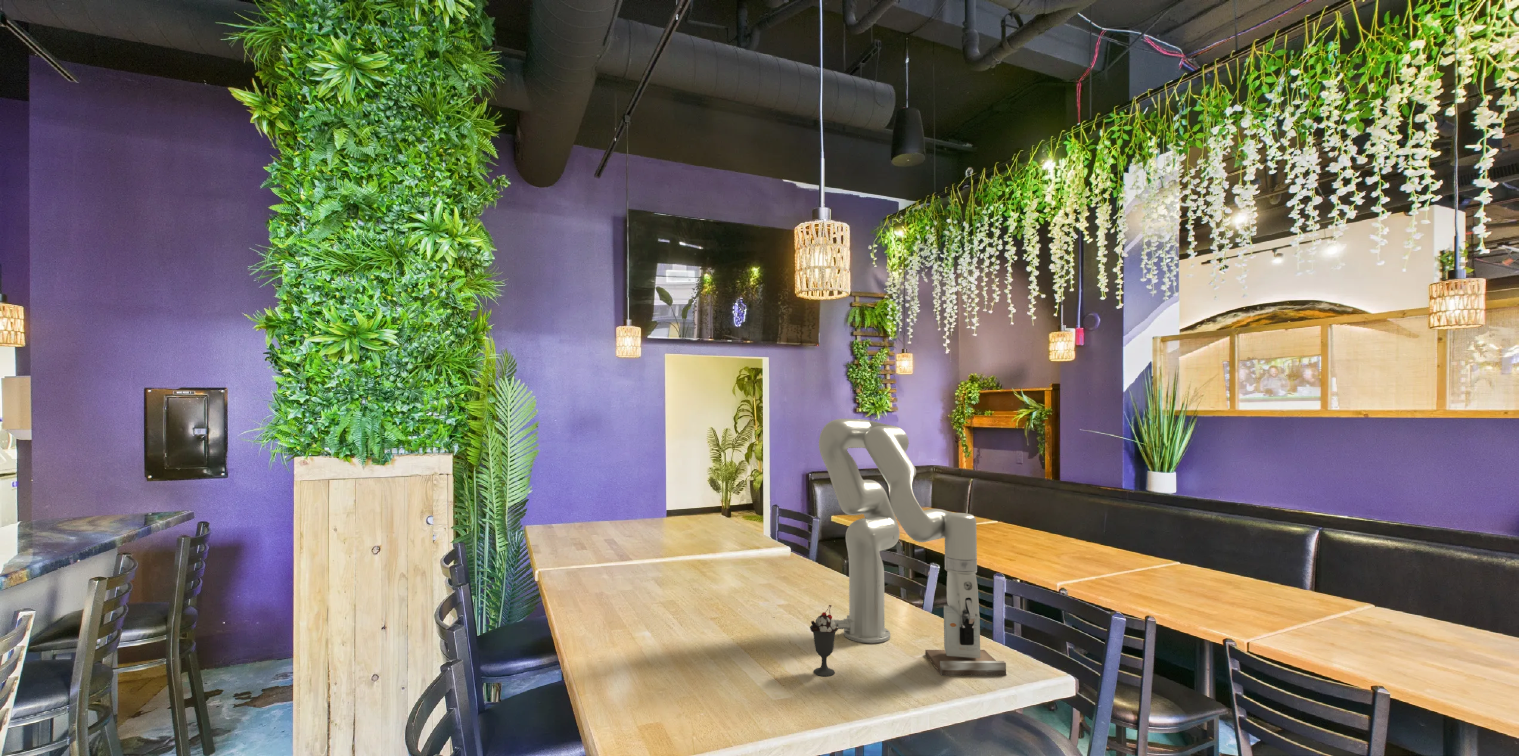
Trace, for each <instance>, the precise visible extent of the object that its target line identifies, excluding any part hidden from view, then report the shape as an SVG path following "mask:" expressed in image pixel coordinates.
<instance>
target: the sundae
mask: <svg viewBox="0 0 1519 756" xmlns="http://www.w3.org/2000/svg"><path fill="white" fill-rule="evenodd" d="M831 607H832V604H829V605H828V608H827V609H826V611H823V612H822V613H821V614H820V615H818V617H816V619H815V621H814V619H813V620H811V621H810V622H811V625H809V629H810V631H811V632H812V634H813V643H814V648H815V652H816V654H817V655H818V656H820V658H821V664H820V667H816V668H815V669H814V670H813V674H814V675H816V676H820V677H831V676H833V675H835V673H836V672H835V670H834V669H833V668H830V667H828V664H827V661H828V660H827V659H828V657H830V655H832V653H833V651H834V646H835V640H836V639H835V638H836V632H838V630H840V629H839V628H838V627H836V625H835V623H834V621H833V620H834V619H833V615H832V614H831ZM827 611H829V613H828V615H827Z"/></svg>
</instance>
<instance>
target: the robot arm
mask: <svg viewBox="0 0 1519 756" xmlns="http://www.w3.org/2000/svg"><path fill="white" fill-rule="evenodd" d="M909 444H910V443H909V436H908V435H907V433H906V431H904V430H903V429H902V428H901V427H899V426H896V425H891V424H886V423H882V422H879V421H878V422H877V421H874V420H869V419H863V418H836V419H834V420H831V421H829V422H827V423H826V424H825V425H824V427H823V428H822V430H821V432H820V435H819V439H818V449H819V453H820V456H821V458H822V461H823V463H824V466H825V467H826V470H827V473H828V475H829V478H830V479H829V480H830V481H831V485H832V488H833V490H834V494H835V496H836V499H837V502H838V505H839V507H840V509H841V511H842V512H843V513H844V514H845V515H849V516H858V515H859V516H860V515H863V517H864V518H863V517H862V518H859V519H856V520H854V521H853V522H851V523H850V524H849V526H848V527H847V529H846V532H845V545H846V549H847V556H848V577H849V578H848V582H849V583H848V589H849V590H848V591H849V592H848V595H849V596H848V597H849V598H848V599H849V600H848V601H849V602H848V603H849V604H848V605H849V607H848V610H849V611H848V612H849V613H848V614H849V615H846V618H843V619H832V620H833V621H834V623H835V625H836V627H837V628H839V629H838V630H843V635H844V636H845V638H847V639H848V640H851V641H854V642H857V643H863V644H865V643H866V644H876V643H877V644H878V643H883V642H884V643H885V642H887V641H889V640H890V639H891V631H890V630H889V629H887V628H886V627H885V568H884V562H883V560H882V557H881V553H880V552H881V551H886V550H889V549H891V548H893V547H895V546H896V545H897V543H898V542H899V539H900V535H901V533H900V526H901V527H902V529H903V530H904V532H905V533H906V534H907V536H908V537H909V538H911V540H913V541H915V542H917V543H927V542H931V541H936V540H940V539H944V570H945V571H946V572H947V573H946V575H947V576H946V602H947V606H950V607H951V608H952V609H953V610H954V611H955V612H956V613H957V614H959V615H960V621H961V627H960V644H961V645H973V644H974V622H975V618H976V617H975V616H977V615H978V614H979V615H980V606H979V605H980V604H979V589H978V580H977V575H976V574H977V572H978V557H977V553H978V549H977V548H978V547H977V534H978V533H977V532H978V531H977V518H976V517H975V516H974V514H971V513H964V512H952V511H948V510H945V509H942V508H932V509H925V510H924V509H923V508H922V507H921V505H920V504H919V502H918V500H917V498H916V496H915V493H914V491H913V480H914V478H915V477H916V475H917V469H916V466H915V465H914V464H913V461H911V458H909V456H908V454H907V453H906V452H907V450H908V448H909ZM858 448H859V449H860V448H862V449H865V450H866V451H867V453H868V455H869V457H870V458H871V459H872V461H873V463H874V464H875V465H876V467H877V469H878V470H879V472H880V474H881V475H882V477H883V479H884V480H885V482H886V483H887V486H888V494H887V492H886V490H885V488H884V486H882V485H881V484H880V483H879V482H878V481H876V480H874V479H863V477H862V476H861V472H860V469H859V467H858V465H857V462H856V460H855V459H854V458H853V457H852V455H851V454H850V453H849V451H848V449H858ZM888 496H889V497H888ZM898 523H899V524H898ZM899 525H900V526H899ZM963 612H967V613H968V614H963ZM975 614H976V615H975ZM964 617H968V618H967V619H966V620H965V622H964Z"/></svg>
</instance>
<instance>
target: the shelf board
mask: <svg viewBox="0 0 1519 756" xmlns="http://www.w3.org/2000/svg"><path fill="white" fill-rule="evenodd" d="M924 652H925V653H924V654H925V656H926V657H927V658H928V660H929V661H930V662H931V664H932V665H933V666H934V668H935V669H936V670H937V671H938V673H939V674H940V675H941V676H1007V663H1006V661H1005V660H996V659H995V658H994V656H992V655H991V654H990V653H989V652H988V651H986V649H980V658H969V657H956V656H947V655H946V652H945V649H925V651H924Z"/></svg>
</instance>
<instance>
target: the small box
mask: <svg viewBox="0 0 1519 756" xmlns="http://www.w3.org/2000/svg"><path fill="white" fill-rule="evenodd" d="M963 614H968V613H967V612H963ZM975 615H976V614H975ZM975 617H976V618H975V622H974V644H973V645H961V644H960V627H961V621H960V615H959V614H957V613H956V612H955V611H954V610H953V609H952V608H951V607H950V606H949V605H943V641H944V642H943V643H944V644H943V646H944V647H943V648H944V650H945V652H946V655H947V656H956V657H969V658H980V650H981V628H980V627H981V623H980V622H981V621H980V620H981V619H980V613H979V614H978V615H977V616H975ZM967 618H968V617H964V622H965V620H966V619H967Z"/></svg>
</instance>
